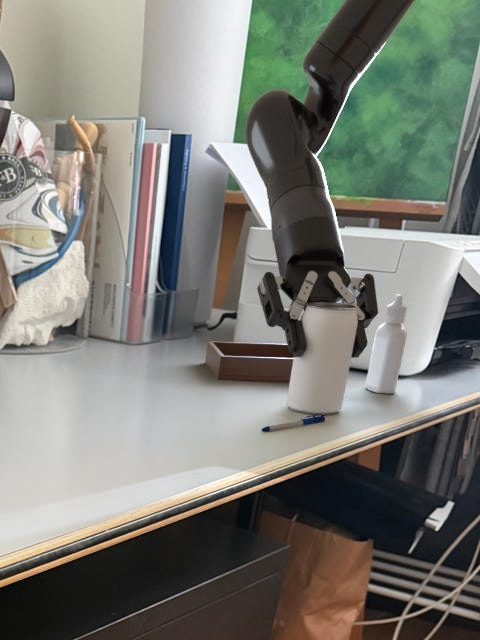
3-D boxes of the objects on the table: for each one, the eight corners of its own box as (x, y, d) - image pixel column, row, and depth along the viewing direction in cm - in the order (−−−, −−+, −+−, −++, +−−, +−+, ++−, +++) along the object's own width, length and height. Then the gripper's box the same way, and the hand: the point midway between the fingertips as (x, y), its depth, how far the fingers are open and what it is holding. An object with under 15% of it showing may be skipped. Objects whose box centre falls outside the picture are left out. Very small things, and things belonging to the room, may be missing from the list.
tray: (301, 366, 138) (304, 344, 137) (322, 383, 128) (326, 360, 126) (205, 362, 139) (207, 341, 137) (217, 379, 128) (220, 356, 127)
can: (344, 406, 115) (363, 304, 110) (337, 417, 110) (357, 310, 104) (290, 400, 117) (307, 299, 112) (281, 411, 112) (298, 306, 107)
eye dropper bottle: (357, 391, 124) (376, 295, 118) (367, 384, 128) (386, 291, 122) (391, 395, 122) (412, 298, 116) (401, 388, 126) (421, 294, 120)
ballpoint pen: (319, 420, 109) (321, 412, 109) (325, 422, 108) (327, 413, 108) (260, 432, 103) (261, 423, 103) (266, 434, 103) (268, 425, 102)
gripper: (260, 212, 110) (283, 333, 105) (376, 215, 111) (403, 334, 106) (238, 257, 117) (258, 372, 112) (347, 258, 118) (372, 372, 113)
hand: (329, 353), depth 109 cm, fingers closed on can, 6 cm apart
